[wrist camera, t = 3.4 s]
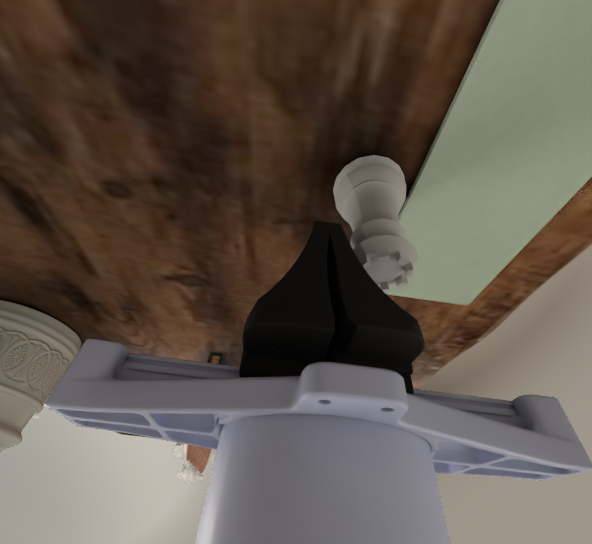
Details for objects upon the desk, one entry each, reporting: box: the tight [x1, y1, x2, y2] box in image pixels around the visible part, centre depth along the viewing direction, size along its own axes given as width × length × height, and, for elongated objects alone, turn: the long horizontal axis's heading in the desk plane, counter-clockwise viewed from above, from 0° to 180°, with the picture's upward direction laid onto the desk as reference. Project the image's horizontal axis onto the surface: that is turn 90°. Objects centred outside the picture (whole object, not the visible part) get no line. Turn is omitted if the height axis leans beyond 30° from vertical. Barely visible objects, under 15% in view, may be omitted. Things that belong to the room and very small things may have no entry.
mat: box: [385, 0, 592, 305], centre depth 18 cm, size 20×10×1 cm, turn 173°
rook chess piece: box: [333, 155, 418, 293], centre depth 16 cm, size 4×4×8 cm
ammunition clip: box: [186, 353, 226, 473], centre depth 38 cm, size 11×2×12 cm, turn 175°
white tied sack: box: [173, 443, 217, 483], centre depth 67 cm, size 12×8×11 cm
